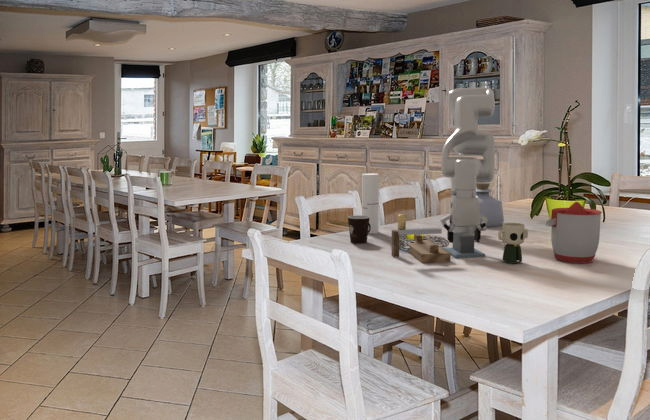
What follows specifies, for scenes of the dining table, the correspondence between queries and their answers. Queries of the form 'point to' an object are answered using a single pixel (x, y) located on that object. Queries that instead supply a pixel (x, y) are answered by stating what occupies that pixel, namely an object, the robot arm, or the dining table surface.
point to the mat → (464, 255)
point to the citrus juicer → (575, 233)
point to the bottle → (489, 206)
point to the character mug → (512, 241)
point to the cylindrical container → (371, 200)
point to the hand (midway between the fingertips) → (463, 241)
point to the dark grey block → (463, 242)
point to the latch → (404, 231)
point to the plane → (421, 249)
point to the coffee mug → (358, 228)
